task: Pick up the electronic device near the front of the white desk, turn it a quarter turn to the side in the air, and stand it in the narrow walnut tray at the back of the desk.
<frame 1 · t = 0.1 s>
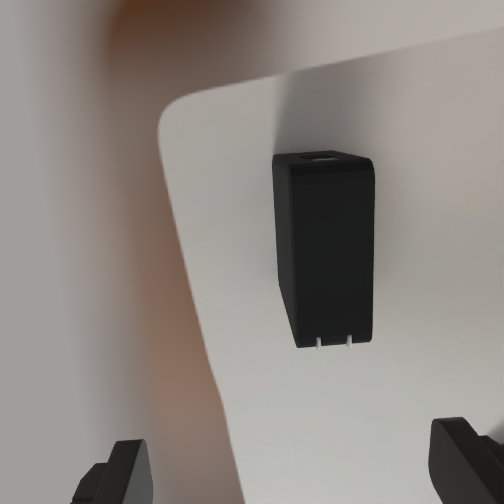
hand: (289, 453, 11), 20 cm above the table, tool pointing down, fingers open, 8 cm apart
electronic device: (302, 220, 30), on the table
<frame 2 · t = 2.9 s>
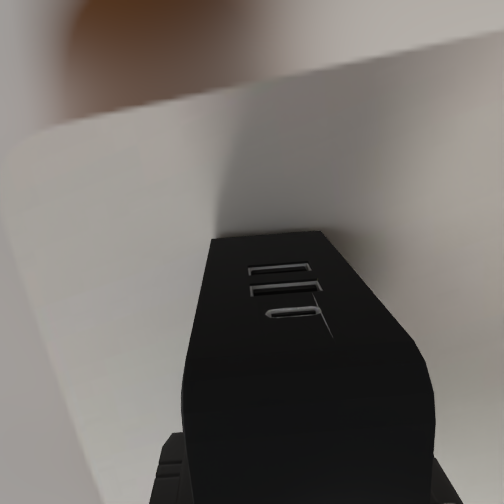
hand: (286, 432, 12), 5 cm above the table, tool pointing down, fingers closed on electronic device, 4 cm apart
electronic device: (271, 341, 17), on the table, touching gripper
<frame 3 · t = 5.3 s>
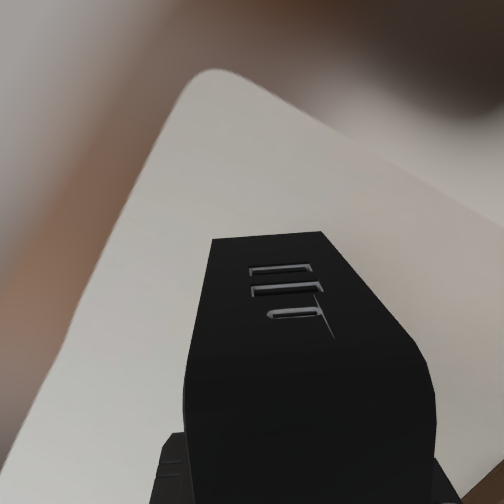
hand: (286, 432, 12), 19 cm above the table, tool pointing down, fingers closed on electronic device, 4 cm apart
electronic device: (271, 341, 17), point 14 cm above the table, touching gripper
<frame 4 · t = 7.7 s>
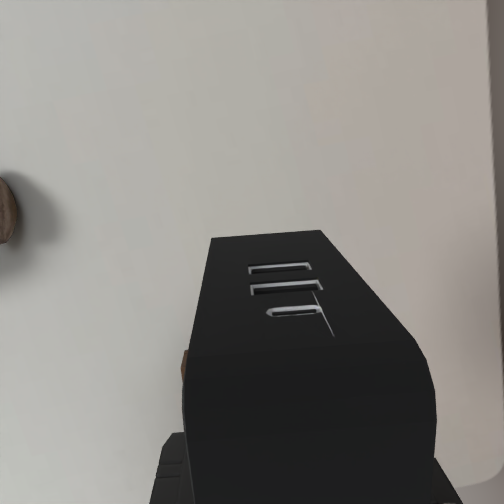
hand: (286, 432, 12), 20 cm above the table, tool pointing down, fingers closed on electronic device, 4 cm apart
electronic device: (270, 340, 17), point 14 cm above the table, touching gripper
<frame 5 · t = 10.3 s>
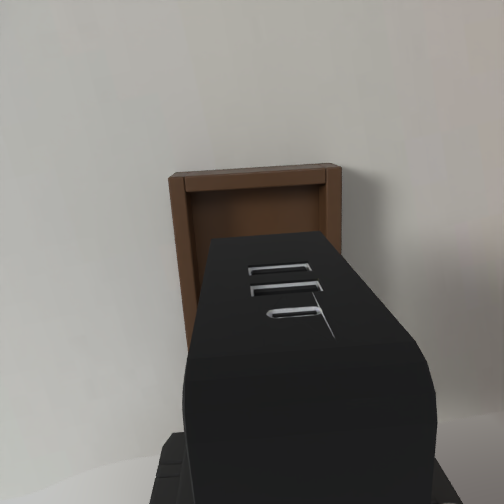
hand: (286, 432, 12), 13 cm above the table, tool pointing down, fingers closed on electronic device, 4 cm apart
electronic device: (270, 341, 17), point 7 cm above the table, touching gripper
tray: (259, 283, 24), on the table
when the fingers open (6 cm above the table, at t = 12.4 s): electronic device stays where it is, resting on tray.
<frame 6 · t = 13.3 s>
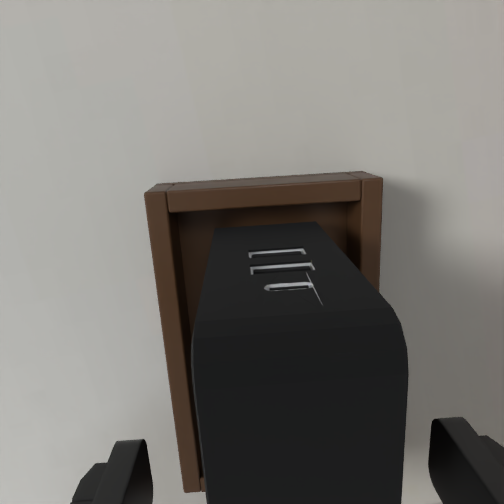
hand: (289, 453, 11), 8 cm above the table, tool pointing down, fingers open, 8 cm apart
electronic device: (269, 326, 18), resting on tray
tray: (267, 325, 19), on the table
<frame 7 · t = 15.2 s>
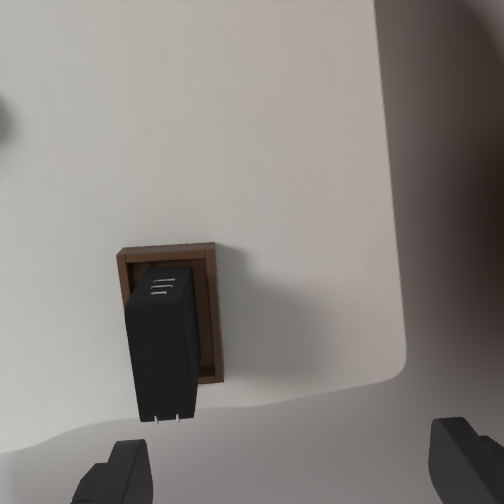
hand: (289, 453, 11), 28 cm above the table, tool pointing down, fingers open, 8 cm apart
electronic device: (176, 311, 40), resting on tray
tray: (176, 311, 40), on the table
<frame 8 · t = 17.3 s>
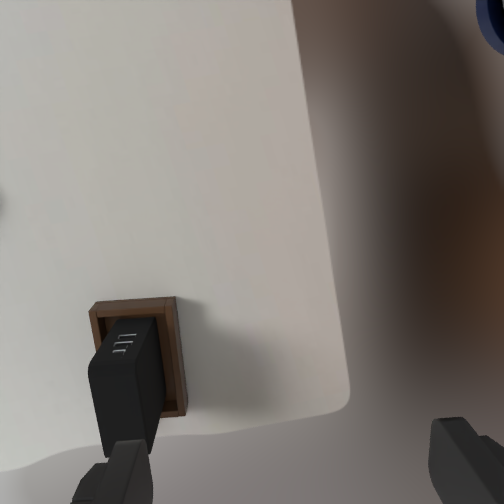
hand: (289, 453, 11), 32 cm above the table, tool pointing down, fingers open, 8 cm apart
electronic device: (143, 354, 46), resting on tray
tray: (144, 354, 46), on the table
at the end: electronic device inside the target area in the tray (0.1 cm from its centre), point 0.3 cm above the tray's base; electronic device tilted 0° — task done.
